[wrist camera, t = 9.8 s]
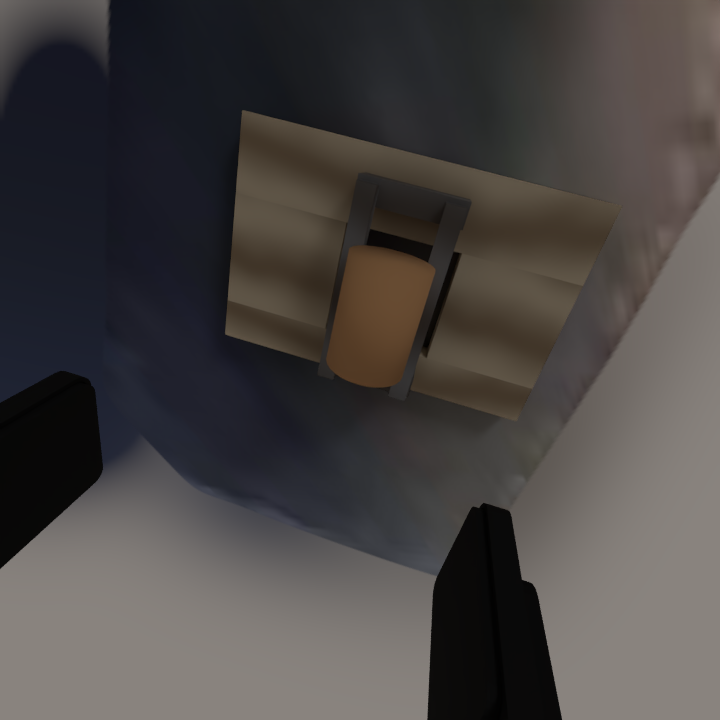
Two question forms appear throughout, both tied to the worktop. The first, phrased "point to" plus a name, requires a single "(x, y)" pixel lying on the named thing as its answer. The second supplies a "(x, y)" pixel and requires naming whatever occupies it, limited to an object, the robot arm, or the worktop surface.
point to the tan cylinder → (377, 315)
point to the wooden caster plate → (415, 222)
